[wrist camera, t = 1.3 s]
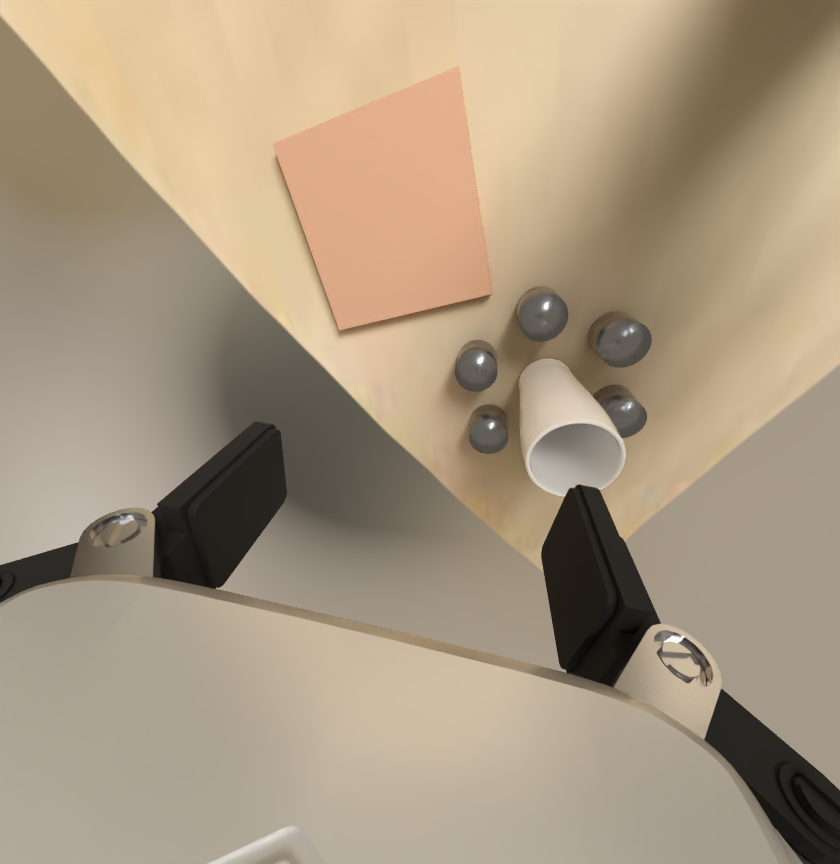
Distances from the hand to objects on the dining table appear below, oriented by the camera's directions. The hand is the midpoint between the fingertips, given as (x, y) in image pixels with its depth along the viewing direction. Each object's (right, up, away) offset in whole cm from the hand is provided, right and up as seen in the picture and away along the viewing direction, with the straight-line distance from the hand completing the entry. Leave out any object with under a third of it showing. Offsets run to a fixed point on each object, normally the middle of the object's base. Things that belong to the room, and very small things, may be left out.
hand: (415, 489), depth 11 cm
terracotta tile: (-3, +21, +21) cm, 30 cm away
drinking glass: (+13, +7, +26) cm, 30 cm away
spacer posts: (+13, +7, +26) cm, 30 cm away
